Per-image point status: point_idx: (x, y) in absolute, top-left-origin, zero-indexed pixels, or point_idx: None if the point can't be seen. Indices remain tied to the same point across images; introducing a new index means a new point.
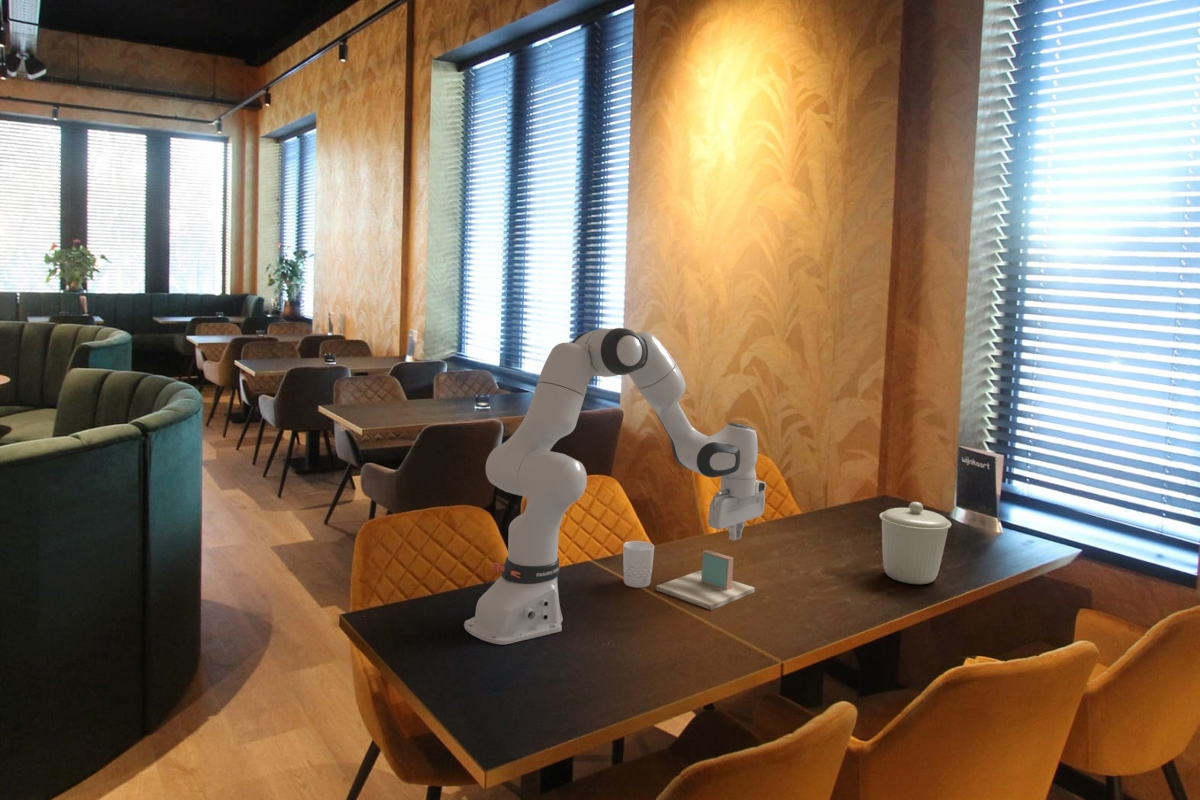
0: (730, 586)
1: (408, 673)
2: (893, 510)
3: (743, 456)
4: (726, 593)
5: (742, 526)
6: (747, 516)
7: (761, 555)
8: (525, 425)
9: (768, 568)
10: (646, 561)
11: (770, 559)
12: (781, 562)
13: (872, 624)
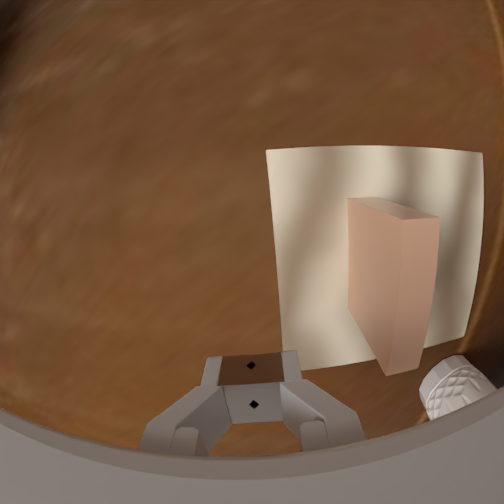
0: (357, 199)
1: None
2: None
3: None
4: (396, 178)
5: (185, 419)
6: (110, 484)
7: (39, 345)
8: None
9: (65, 280)
10: (491, 389)
11: (33, 317)
12: (21, 287)
13: None
